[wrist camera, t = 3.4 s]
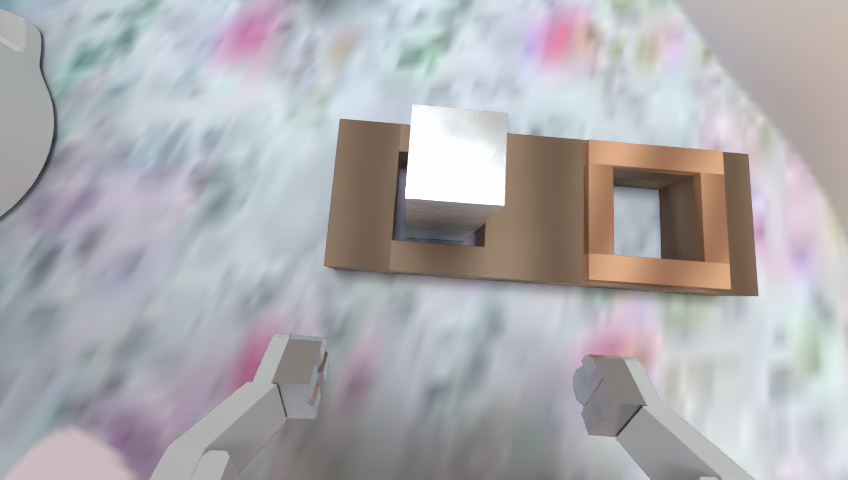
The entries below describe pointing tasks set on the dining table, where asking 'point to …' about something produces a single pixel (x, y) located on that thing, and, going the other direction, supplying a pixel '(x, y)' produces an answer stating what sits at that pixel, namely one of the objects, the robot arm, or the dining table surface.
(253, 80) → the dining table surface
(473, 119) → the steel post
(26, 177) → the robot arm
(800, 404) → the dining table surface
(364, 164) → the walnut rail
